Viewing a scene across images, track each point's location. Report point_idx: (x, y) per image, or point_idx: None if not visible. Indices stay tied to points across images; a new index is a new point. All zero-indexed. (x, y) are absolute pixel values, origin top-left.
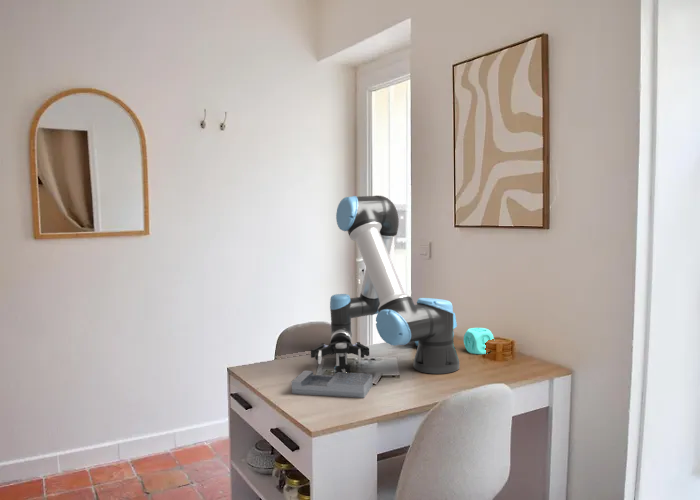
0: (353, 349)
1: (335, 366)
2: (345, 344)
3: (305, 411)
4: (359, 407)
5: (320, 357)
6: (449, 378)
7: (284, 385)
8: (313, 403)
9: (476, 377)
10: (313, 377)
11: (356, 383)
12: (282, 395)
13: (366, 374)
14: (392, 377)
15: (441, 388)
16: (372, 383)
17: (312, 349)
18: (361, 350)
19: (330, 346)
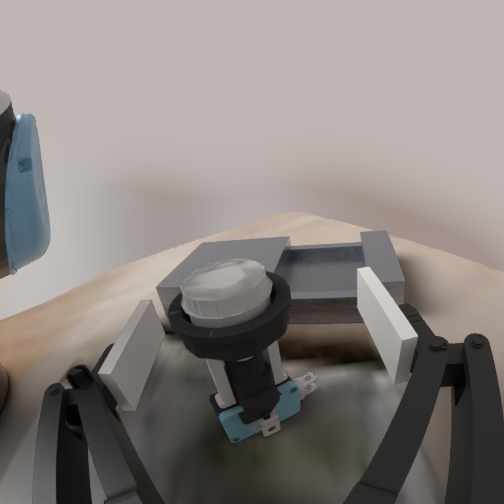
0: (126, 452)
1: (291, 384)
2: (193, 274)
3: (319, 228)
4: None
5: (360, 284)
6: (5, 345)
7: (444, 290)
8: (315, 243)
9: None
10: None
11: (216, 245)
12: (403, 254)
13: (173, 281)
14: None
15: (54, 309)
16: (165, 312)
17: (480, 343)
18: (96, 382)
19: (364, 479)
